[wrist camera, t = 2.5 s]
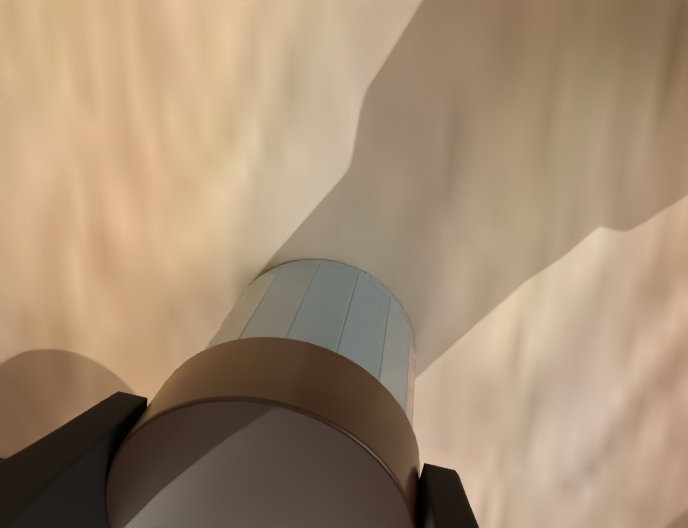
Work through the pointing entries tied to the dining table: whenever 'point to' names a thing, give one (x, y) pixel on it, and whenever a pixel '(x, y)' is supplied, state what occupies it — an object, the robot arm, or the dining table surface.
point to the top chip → (267, 445)
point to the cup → (330, 319)
